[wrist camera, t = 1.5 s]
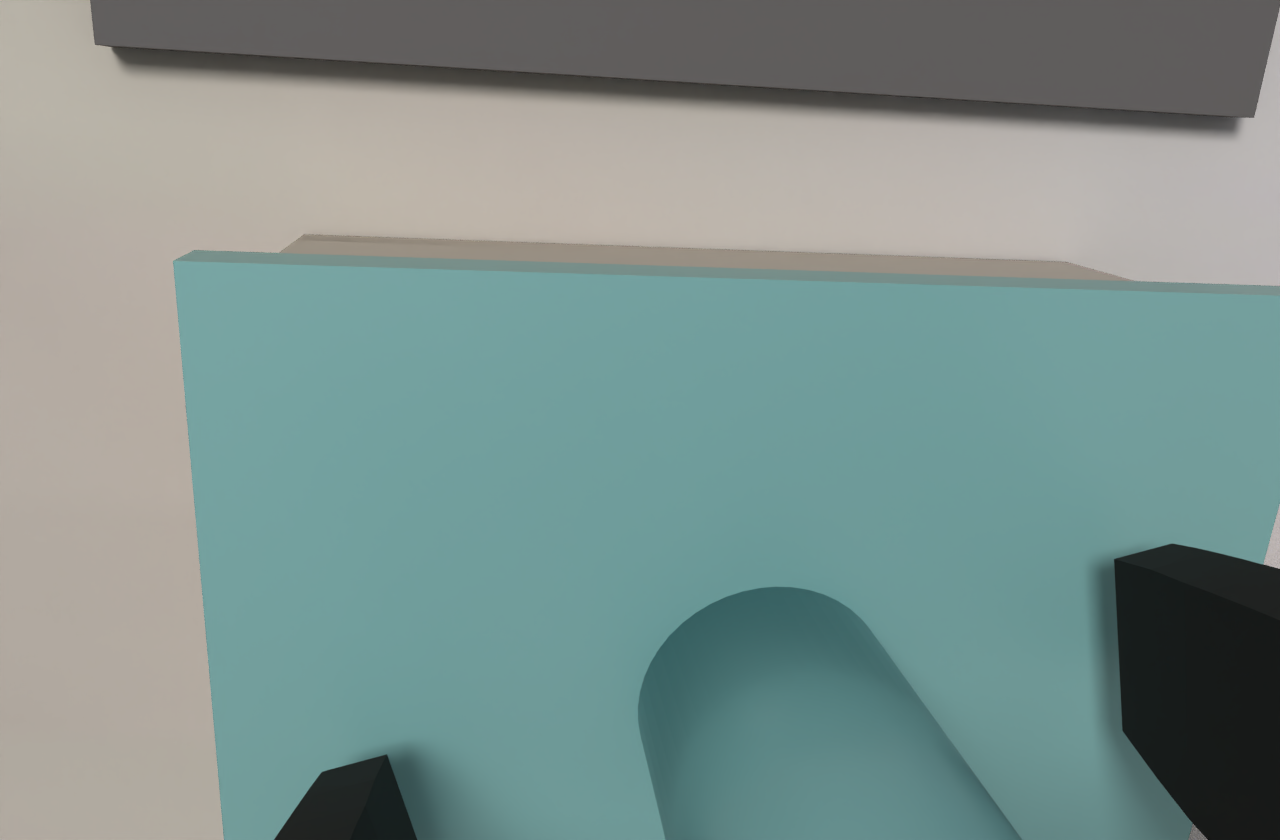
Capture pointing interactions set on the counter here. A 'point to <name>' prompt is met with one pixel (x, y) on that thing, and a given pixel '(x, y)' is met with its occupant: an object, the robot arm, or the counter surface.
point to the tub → (687, 257)
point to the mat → (767, 43)
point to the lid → (703, 538)
